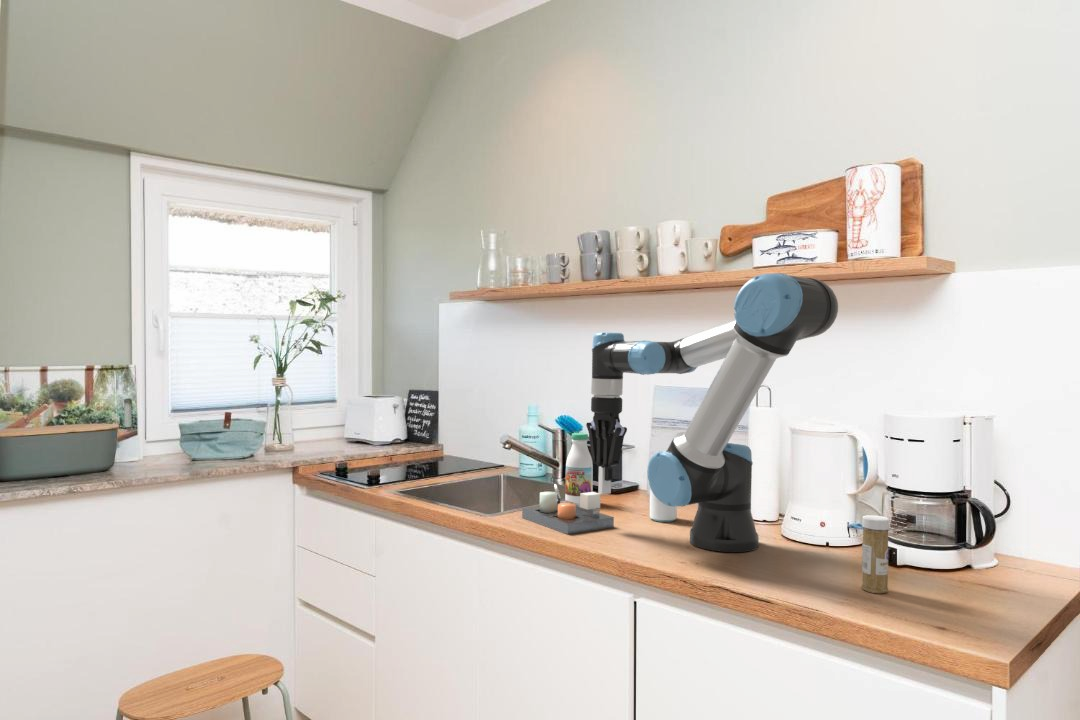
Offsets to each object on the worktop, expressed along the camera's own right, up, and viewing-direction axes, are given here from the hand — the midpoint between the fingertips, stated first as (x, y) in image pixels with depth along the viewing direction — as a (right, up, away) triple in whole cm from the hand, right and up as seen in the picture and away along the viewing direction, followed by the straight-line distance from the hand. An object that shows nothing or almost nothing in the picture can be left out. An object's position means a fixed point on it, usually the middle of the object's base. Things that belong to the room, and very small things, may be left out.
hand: (604, 493), depth 176 cm
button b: (-14, -6, +9) cm, 17 cm away
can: (+16, -9, +12) cm, 22 cm away
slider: (-3, -4, +5) cm, 7 cm away
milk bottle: (-5, -9, +30) cm, 32 cm away
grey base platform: (-9, -9, +7) cm, 14 cm away
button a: (-9, -8, +2) cm, 12 cm away
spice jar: (+46, -10, -43) cm, 64 cm away
